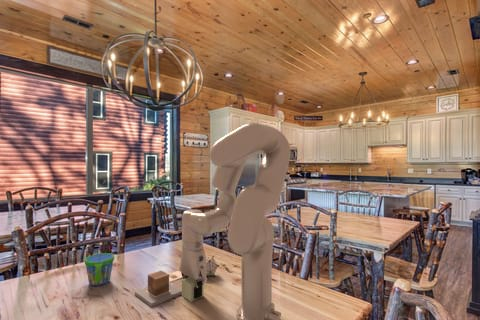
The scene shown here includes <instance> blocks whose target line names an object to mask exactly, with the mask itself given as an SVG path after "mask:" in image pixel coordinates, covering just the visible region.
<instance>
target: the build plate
mask: <svg viewBox="0 0 480 320" xmlns="http://www.w3.org/2000/svg"><path fill="white" fill-rule="evenodd" d="M134 295H135V296H136V297H137V298H138V299H140V300H142V302H144V303H146V304H147V305H148V306H149V307H151V308H152V307H155V306H158V305H160V304H163V303H164V302H167V301H169V300H171V299H174V298H176V297H179V296H180V295H181V296H182V289H179V288H178V287H176V286H175V285H172V284H170V283H169V291H168V292H165V293H163V294H160V295H158V296H154V295H153V294H151V293H150V292H148V286H147V287H144V288H141V289H139V290H135V291H134Z"/></svg>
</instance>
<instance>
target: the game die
mask: <svg viewBox="0 0 480 320" xmlns="http://www.w3.org/2000/svg"><path fill="white" fill-rule="evenodd" d="M214 256H215V255H212V256H210V257H206V268H207V274H206V277H207V276H213V277H216V272H217V269H218V267H220V264H218V263H217V262H216V260H215V258H214Z"/></svg>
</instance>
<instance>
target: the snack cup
mask: <svg viewBox="0 0 480 320" xmlns="http://www.w3.org/2000/svg"><path fill="white" fill-rule="evenodd" d="M114 261H115V255H114V254H113V253H109V252H102V253H96V254H91V255H89V256H87V257H85V258H84V265H85V266H86V274H87V280H88V284H89V286H94V287H100V286H105V285H106V284H108V283H109V282H110V280H111V277H112V271H113V263H114Z"/></svg>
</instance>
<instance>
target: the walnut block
mask: <svg viewBox="0 0 480 320" xmlns="http://www.w3.org/2000/svg"><path fill="white" fill-rule="evenodd" d="M169 274H170V273H167V272H165V271H163V270H159V271H154V272H152V273H150V274H147V287H148V292H150V293H151V294H153V295H154V296H158V295H160V294H163V293H165V292H168V291H169V284H170V283H169Z"/></svg>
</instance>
